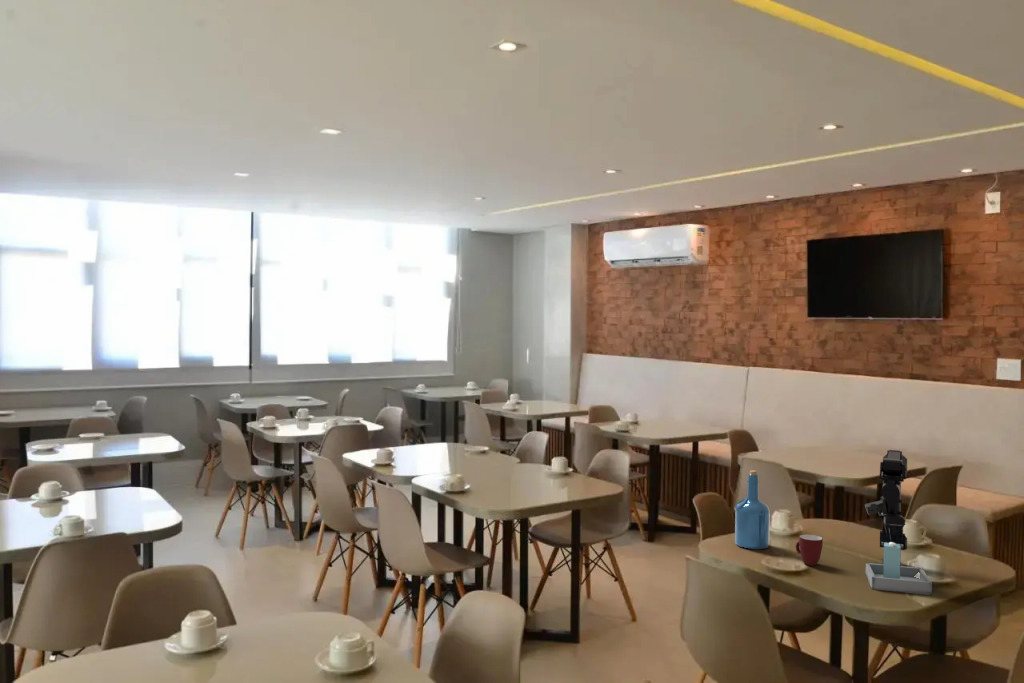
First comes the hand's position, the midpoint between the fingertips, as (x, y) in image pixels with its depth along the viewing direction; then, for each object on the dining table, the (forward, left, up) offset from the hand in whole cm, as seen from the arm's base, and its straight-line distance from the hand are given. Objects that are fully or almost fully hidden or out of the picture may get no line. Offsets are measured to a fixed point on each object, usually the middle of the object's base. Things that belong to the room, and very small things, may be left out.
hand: (890, 539), depth 278 cm
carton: (+10, -1, -12) cm, 16 cm away
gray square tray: (+9, +1, -13) cm, 16 cm away
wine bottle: (-24, -47, -13) cm, 54 cm away
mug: (-6, -27, -13) cm, 31 cm away
